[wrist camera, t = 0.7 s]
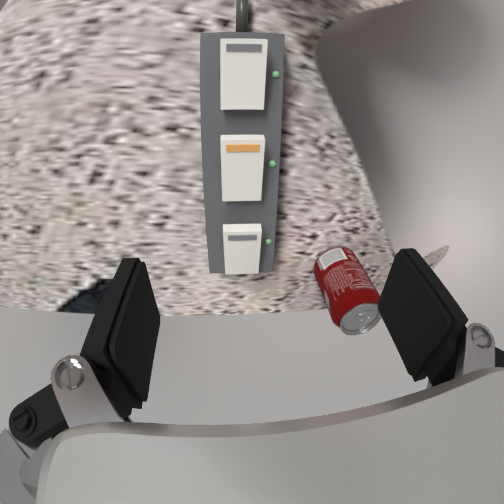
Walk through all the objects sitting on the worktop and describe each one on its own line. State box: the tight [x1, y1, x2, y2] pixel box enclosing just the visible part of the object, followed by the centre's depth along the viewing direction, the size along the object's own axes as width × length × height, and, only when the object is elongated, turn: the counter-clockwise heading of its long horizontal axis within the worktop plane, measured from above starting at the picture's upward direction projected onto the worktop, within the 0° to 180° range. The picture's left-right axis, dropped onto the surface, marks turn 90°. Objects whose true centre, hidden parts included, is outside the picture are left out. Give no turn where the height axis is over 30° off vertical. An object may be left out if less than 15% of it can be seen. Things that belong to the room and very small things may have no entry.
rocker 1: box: [220, 38, 268, 110], centre depth 21 cm, size 7×4×1 cm, turn 179°
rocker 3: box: [223, 224, 262, 274], centre depth 32 cm, size 7×4×1 cm, turn 179°
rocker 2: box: [220, 135, 265, 201], centre depth 27 cm, size 7×4×1 cm, turn 179°
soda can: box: [314, 246, 381, 335], centre depth 36 cm, size 7×7×12 cm
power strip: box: [200, 0, 285, 273], centre depth 28 cm, size 34×8×5 cm, turn 179°
